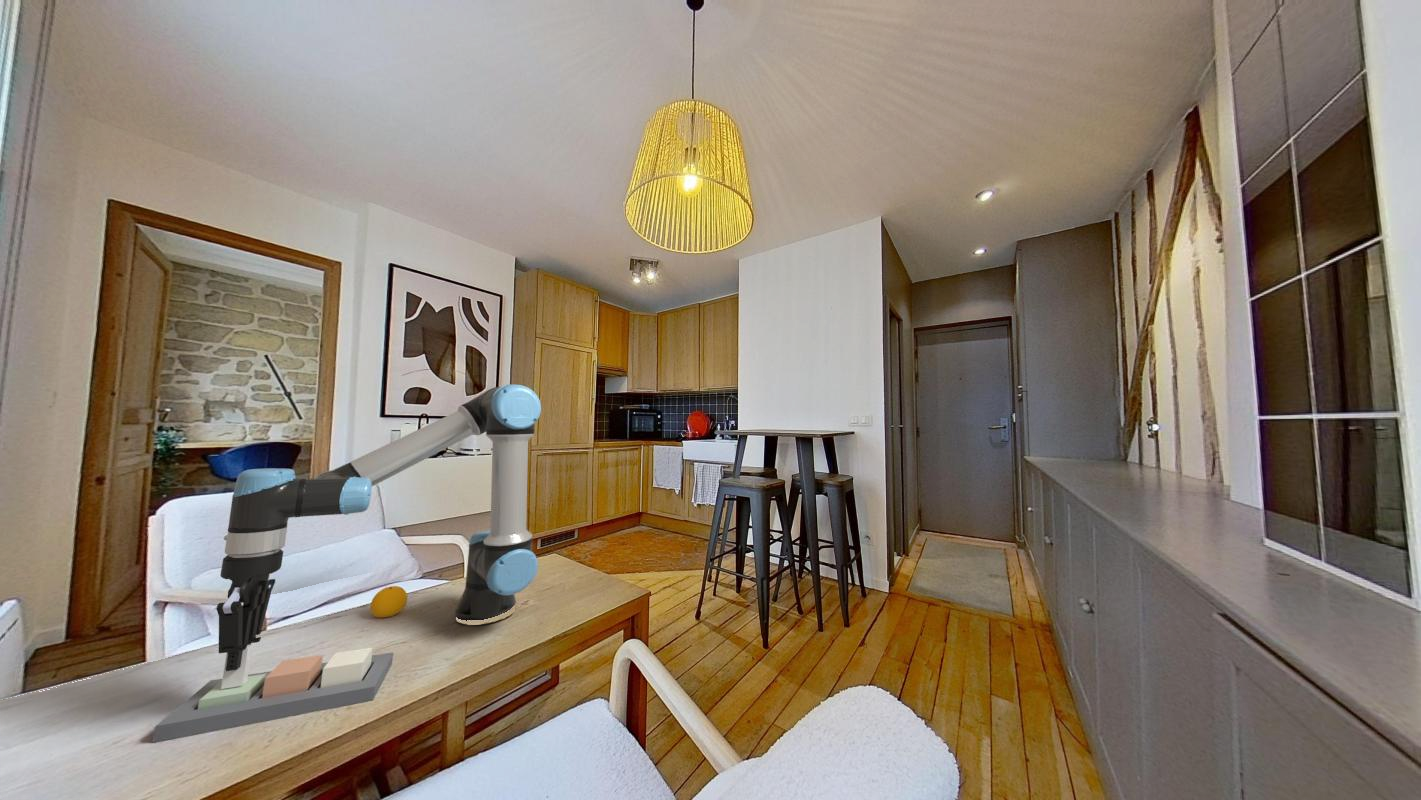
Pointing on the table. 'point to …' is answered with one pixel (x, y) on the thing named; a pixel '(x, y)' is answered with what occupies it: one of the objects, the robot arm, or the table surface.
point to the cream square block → (346, 667)
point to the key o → (232, 693)
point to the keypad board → (270, 704)
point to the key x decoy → (292, 676)
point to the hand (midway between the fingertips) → (234, 684)
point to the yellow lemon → (388, 601)
